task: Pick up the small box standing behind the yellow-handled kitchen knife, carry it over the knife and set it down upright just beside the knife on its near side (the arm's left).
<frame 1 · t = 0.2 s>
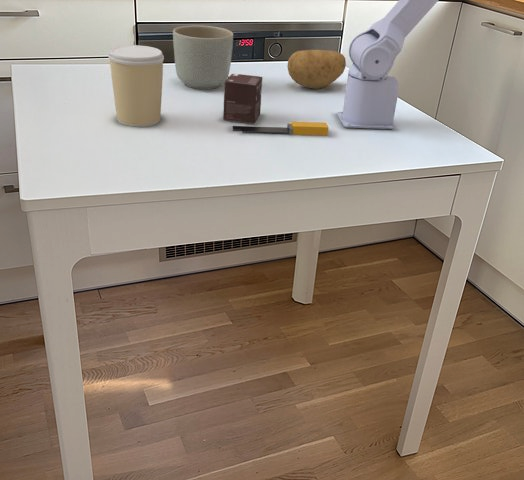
coffee cup: (138, 120, 117), on the table
knife: (280, 131, 116), on the table
potato: (315, 87, 143), on the table
box: (241, 119, 121), on the table
planter: (202, 85, 138), on the table
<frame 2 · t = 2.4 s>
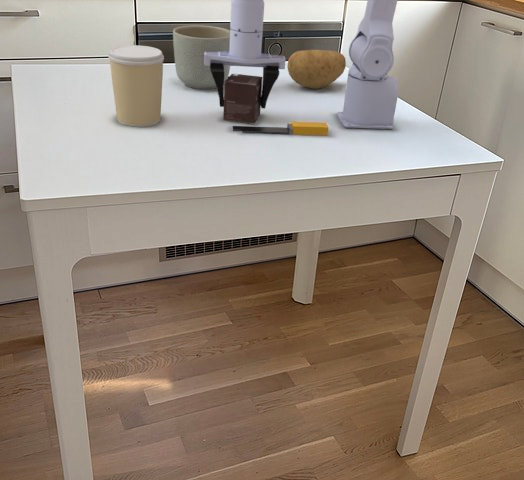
hand: (242, 106, 120), 2 cm above the table, tool pointing down, fingers closed on box, 7 cm apart
box: (241, 119, 121), on the table, touching gripper
everything else where it was.
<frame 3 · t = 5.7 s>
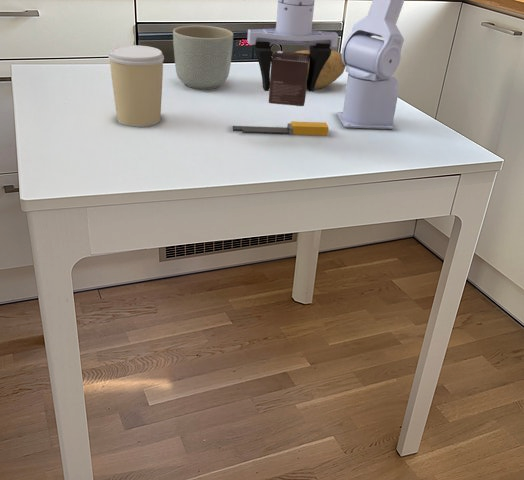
hand: (288, 89, 108), 9 cm above the table, tool pointing down, fingers closed on box, 7 cm apart
box: (287, 101, 109), point 7 cm above the table, touching gripper
everything else where it was.
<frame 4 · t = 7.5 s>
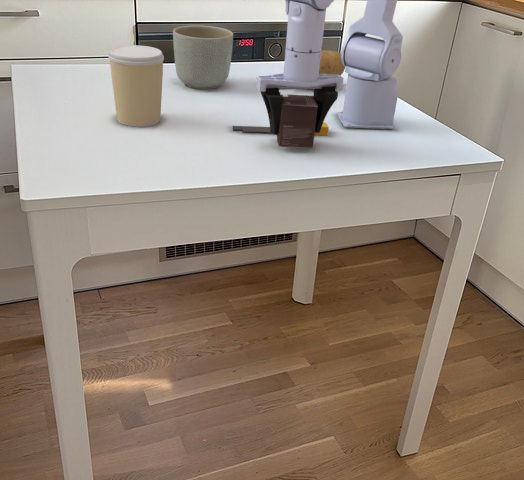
hand: (295, 131, 109), 3 cm above the table, tool pointing down, fingers closed on box, 7 cm apart
box: (294, 143, 110), point 1 cm above the table, touching gripper
everything else where it was.
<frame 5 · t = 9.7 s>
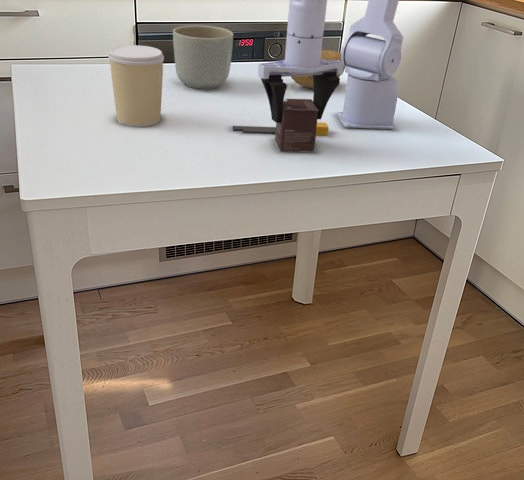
hand: (296, 119, 108), 5 cm above the table, tool pointing down
box: (293, 147, 111), on the table, touching gripper
everything else where it was.
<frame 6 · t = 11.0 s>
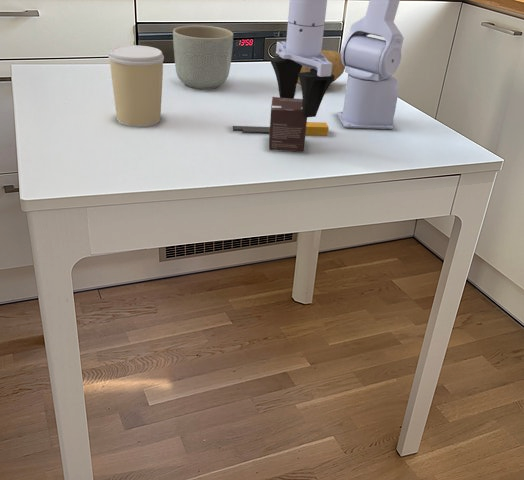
hand: (297, 109, 107), 6 cm above the table, tool pointing down
box: (286, 146, 110), on the table, touching gripper
everything else where it was.
when the fingers open (7 cm above the table, at t = 11.1 s): box moves 1 cm, point 1 cm above the table.
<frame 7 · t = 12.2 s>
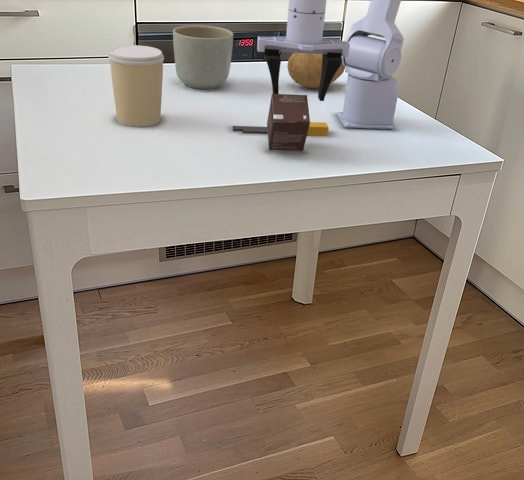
hand: (298, 98, 106), 8 cm above the table, tool pointing down, fingers open, 7 cm apart
box: (284, 138, 110), point 1 cm above the table, touching gripper
everything else where it was.
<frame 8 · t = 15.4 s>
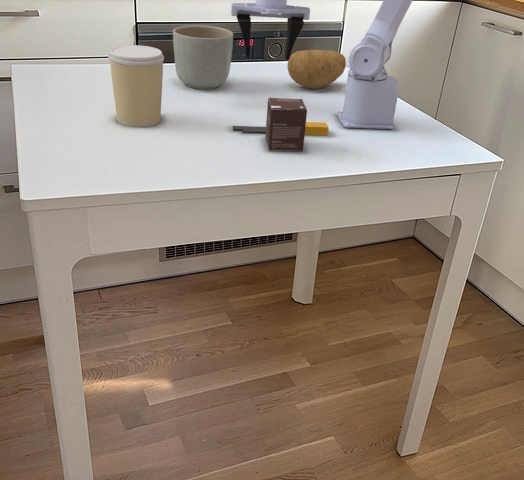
hand: (267, 57, 123), 9 cm above the table, tool pointing down, fingers open, 7 cm apart
box: (283, 146, 111), on the table
everything else where it was.
at the end: box inside the target area on the table beside the knife (1.0 cm from its centre), on the table; box tilted 0°; the gripper is holding nothing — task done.
